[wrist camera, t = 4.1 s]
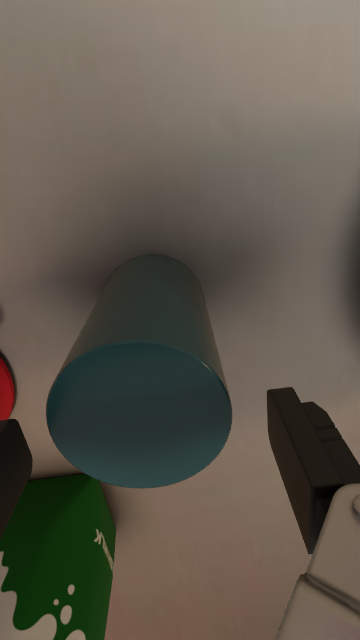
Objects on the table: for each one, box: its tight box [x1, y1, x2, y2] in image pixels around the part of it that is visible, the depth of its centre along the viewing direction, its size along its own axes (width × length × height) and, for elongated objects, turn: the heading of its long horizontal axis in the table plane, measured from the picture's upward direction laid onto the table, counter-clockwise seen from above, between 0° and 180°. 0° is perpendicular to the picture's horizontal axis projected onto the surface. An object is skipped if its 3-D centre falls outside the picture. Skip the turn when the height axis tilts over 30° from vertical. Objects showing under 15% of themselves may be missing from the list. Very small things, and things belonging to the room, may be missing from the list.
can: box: [46, 254, 232, 488], centre depth 17 cm, size 6×6×11 cm
